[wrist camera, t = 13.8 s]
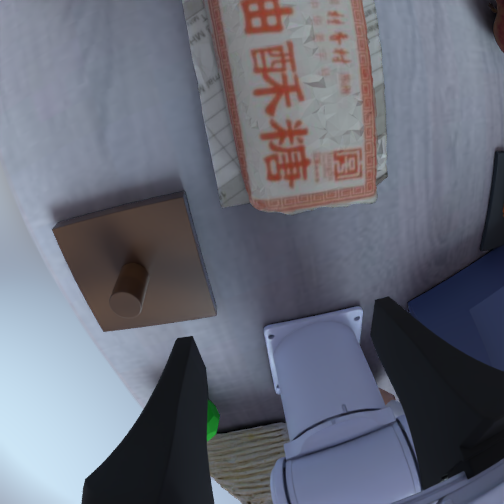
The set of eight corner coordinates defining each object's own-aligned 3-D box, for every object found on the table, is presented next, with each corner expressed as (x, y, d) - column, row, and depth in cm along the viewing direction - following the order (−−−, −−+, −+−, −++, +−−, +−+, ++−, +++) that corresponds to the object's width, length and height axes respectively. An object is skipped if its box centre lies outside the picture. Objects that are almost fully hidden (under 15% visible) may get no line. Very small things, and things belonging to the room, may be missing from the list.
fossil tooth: (187, 424, 34) (314, 408, 32) (206, 445, 37) (320, 432, 35) (176, 509, 24) (326, 502, 22) (199, 521, 27) (330, 513, 25)
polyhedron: (195, 416, 31) (195, 454, 27) (158, 398, 29) (155, 439, 25) (229, 399, 30) (232, 440, 26) (191, 379, 27) (190, 423, 23)
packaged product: (416, 209, 15) (222, 242, 15) (377, 177, 19) (220, 201, 19) (376, -118, 6) (156, -117, 6) (343, -87, 10) (169, -79, 10)
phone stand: (507, 240, 23) (588, 321, 13) (500, 316, 29) (553, 388, 19) (407, 302, 25) (476, 415, 15) (419, 368, 31) (462, 454, 21)
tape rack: (216, 306, 23) (217, 347, 20) (106, 323, 23) (94, 361, 20) (184, 190, 18) (177, 220, 15) (57, 222, 18) (31, 254, 15)
